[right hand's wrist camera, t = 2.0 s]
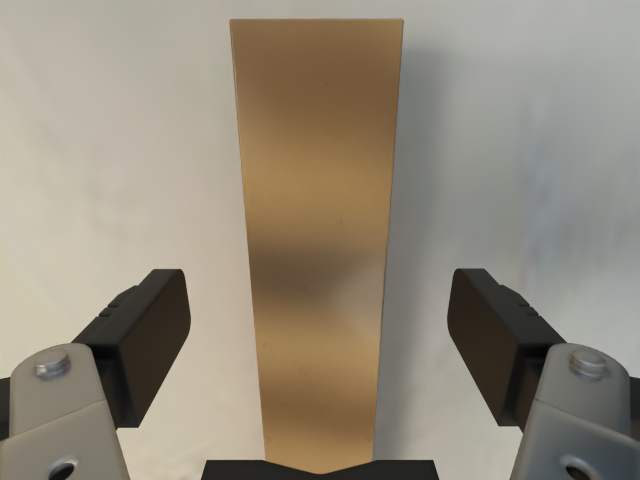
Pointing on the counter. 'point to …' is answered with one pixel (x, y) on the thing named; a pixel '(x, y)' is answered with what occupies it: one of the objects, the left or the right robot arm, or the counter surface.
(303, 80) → the post
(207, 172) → the counter surface
